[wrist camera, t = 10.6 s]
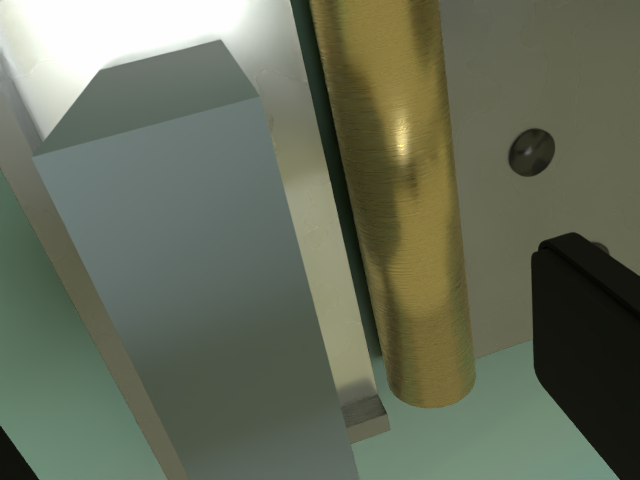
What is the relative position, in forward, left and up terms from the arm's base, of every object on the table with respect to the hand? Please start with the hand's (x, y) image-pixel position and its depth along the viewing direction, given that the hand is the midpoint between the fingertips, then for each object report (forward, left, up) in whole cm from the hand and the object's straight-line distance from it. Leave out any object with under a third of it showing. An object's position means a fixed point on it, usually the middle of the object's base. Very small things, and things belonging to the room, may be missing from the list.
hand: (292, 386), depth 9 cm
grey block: (+1, 0, -7) cm, 7 cm away
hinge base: (-4, 0, -8) cm, 9 cm away
